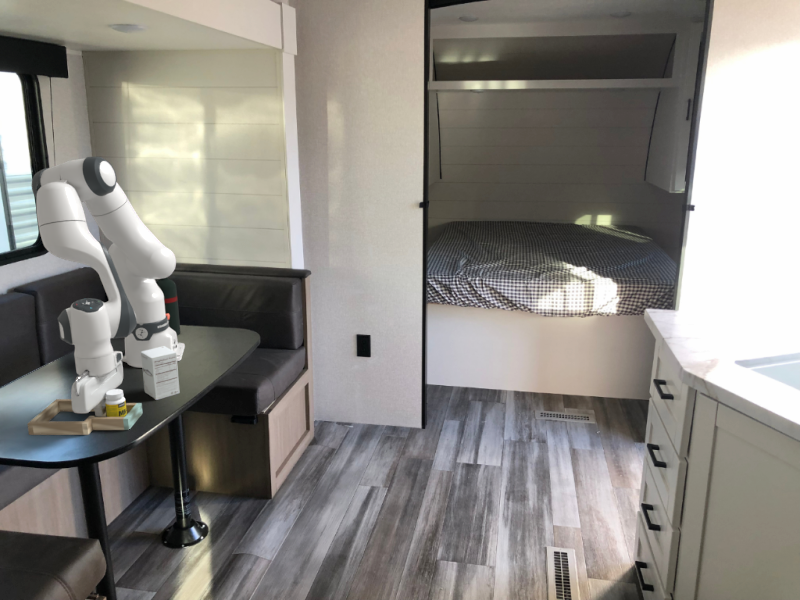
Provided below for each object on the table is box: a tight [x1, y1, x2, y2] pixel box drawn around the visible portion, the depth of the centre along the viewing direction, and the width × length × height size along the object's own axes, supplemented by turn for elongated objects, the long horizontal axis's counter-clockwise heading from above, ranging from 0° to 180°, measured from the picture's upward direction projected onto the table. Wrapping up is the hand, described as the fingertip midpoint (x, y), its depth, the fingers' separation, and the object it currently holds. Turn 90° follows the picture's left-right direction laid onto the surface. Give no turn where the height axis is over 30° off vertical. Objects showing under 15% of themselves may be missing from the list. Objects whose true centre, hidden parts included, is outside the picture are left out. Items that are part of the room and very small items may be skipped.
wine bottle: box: [156, 276, 181, 336], centre depth 229 cm, size 8×10×30 cm
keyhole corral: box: [27, 398, 143, 436], centre depth 164 cm, size 14×23×3 cm, turn 92°
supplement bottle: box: [105, 388, 127, 417], centre depth 163 cm, size 5×5×8 cm
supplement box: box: [141, 346, 181, 401], centre depth 180 cm, size 7×7×13 cm
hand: (101, 414), depth 164 cm, fingers closed
